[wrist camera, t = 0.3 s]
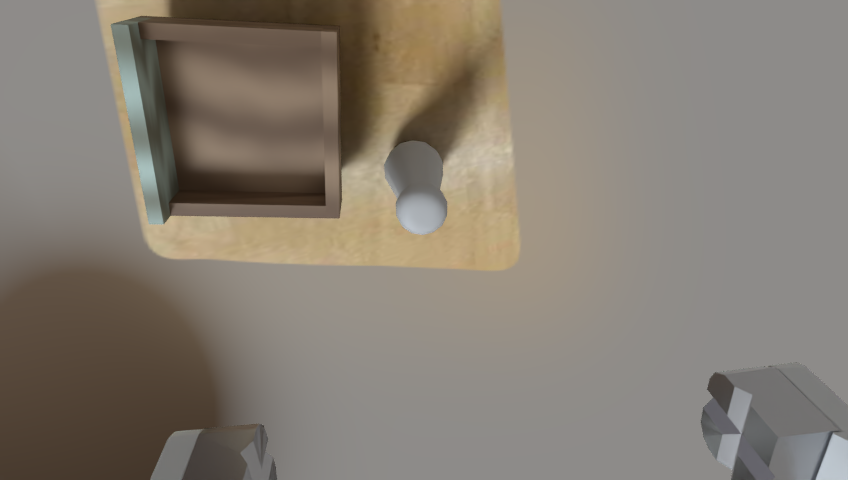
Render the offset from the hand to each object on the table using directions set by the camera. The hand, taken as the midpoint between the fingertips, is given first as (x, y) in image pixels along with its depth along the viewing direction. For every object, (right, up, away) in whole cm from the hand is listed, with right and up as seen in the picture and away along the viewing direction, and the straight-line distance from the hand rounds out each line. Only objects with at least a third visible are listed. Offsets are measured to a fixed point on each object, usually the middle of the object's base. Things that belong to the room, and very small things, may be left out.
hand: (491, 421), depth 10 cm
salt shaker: (-2, +11, +46) cm, 48 cm away
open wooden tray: (-17, +16, +42) cm, 48 cm away
